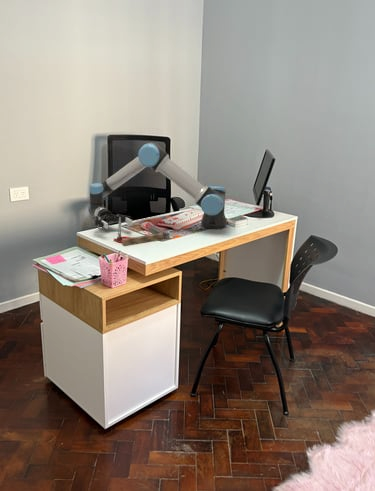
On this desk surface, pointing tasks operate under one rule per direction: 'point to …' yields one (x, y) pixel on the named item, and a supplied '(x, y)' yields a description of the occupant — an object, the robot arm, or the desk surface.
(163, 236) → the guide track
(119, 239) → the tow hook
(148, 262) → the desk surface
